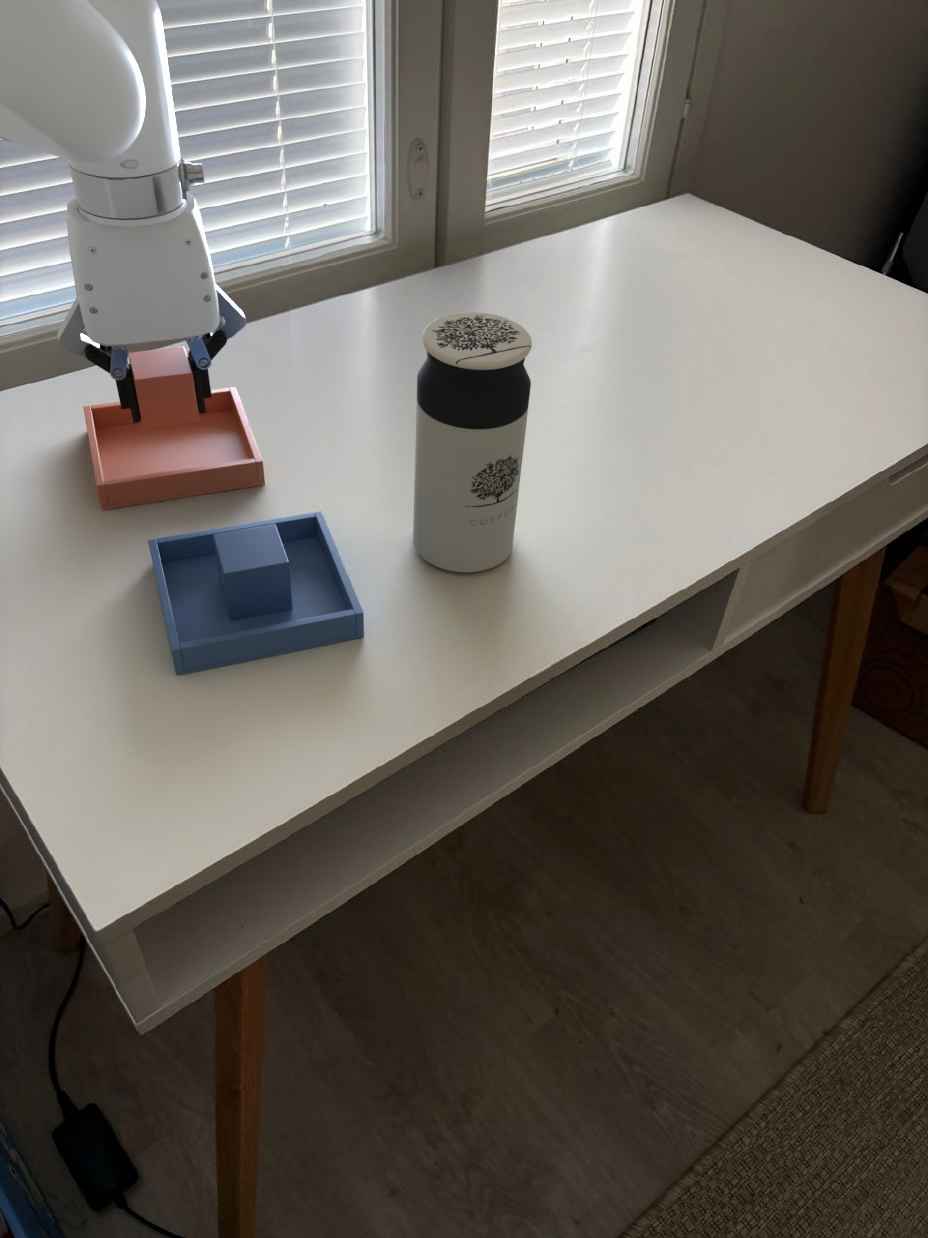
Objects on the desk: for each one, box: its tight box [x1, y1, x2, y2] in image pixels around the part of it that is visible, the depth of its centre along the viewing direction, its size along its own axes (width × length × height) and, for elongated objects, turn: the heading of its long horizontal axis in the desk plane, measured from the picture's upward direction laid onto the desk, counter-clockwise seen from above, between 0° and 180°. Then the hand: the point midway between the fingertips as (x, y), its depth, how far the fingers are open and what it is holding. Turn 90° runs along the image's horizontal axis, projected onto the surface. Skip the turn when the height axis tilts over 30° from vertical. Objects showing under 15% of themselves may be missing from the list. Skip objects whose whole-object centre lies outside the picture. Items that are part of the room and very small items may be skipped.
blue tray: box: [147, 510, 365, 676], centre depth 74 cm, size 13×12×2 cm
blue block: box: [213, 524, 293, 621], centre depth 73 cm, size 4×4×4 cm
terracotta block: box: [128, 346, 199, 429], centre depth 83 cm, size 4×4×4 cm
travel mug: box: [412, 311, 533, 573], centre depth 74 cm, size 8×8×18 cm
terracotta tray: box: [83, 386, 266, 511], centre depth 86 cm, size 13×12×2 cm
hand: (167, 407), depth 84 cm, fingers closed on terracotta block, 4 cm apart
